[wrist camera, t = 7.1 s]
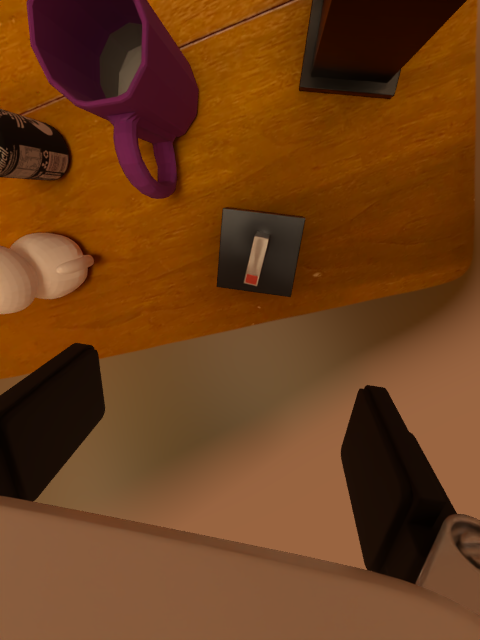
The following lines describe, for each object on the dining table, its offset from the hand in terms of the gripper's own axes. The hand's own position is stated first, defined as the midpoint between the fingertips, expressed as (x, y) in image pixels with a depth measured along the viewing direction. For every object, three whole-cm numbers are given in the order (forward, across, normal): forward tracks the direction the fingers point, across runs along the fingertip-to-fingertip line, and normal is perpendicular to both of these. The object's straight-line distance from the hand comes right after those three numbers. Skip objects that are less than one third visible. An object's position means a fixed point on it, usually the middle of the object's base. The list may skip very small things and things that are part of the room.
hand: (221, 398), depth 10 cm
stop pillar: (+32, -7, -22) cm, 40 cm away
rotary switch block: (+32, +1, 0) cm, 32 cm away
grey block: (+29, +1, 0) cm, 29 cm away
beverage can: (+32, +30, -9) cm, 45 cm away
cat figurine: (+32, +29, +5) cm, 43 cm away
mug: (+32, +14, -13) cm, 37 cm away
